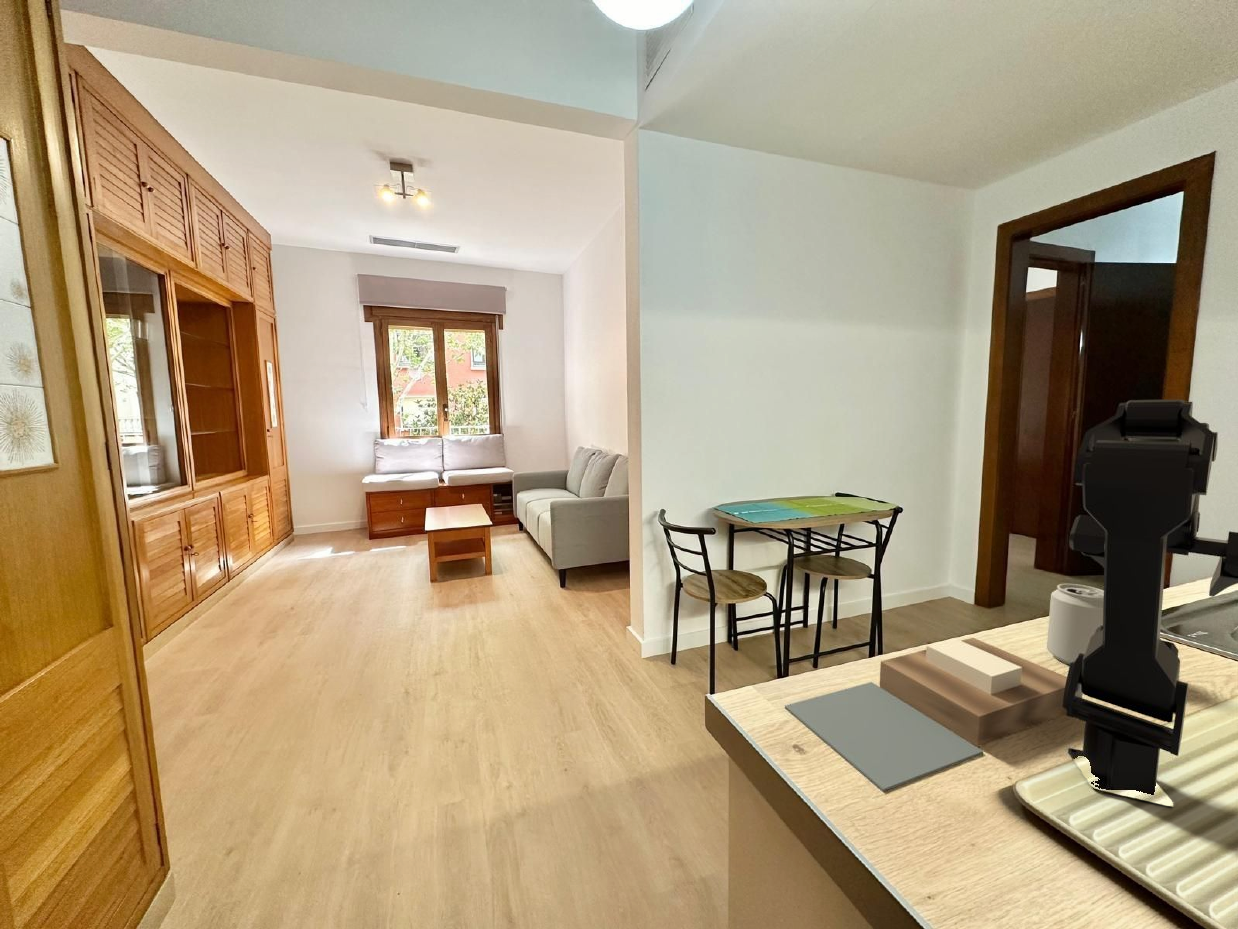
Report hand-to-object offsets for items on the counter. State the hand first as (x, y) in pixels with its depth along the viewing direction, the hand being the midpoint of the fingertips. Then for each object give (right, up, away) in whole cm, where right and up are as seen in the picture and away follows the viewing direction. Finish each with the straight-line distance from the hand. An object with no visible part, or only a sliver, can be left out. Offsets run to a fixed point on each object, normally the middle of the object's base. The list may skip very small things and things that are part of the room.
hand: (1161, 585), depth 70 cm
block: (-29, -16, -2) cm, 33 cm away
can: (-5, -14, +8) cm, 17 cm away
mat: (-46, -17, -8) cm, 50 cm away
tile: (-30, -11, -3) cm, 32 cm away
